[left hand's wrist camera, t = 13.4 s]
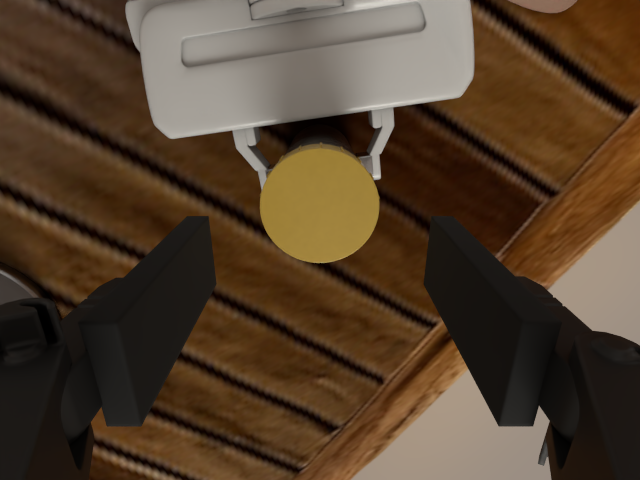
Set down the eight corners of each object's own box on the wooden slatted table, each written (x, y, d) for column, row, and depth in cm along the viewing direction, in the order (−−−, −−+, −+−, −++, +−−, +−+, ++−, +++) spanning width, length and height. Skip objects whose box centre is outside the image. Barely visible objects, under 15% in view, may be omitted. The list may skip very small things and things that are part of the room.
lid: (265, 251, 21) (261, 263, 20) (261, 140, 19) (256, 145, 18) (371, 253, 21) (375, 265, 20) (380, 143, 19) (385, 147, 18)
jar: (288, 186, 34) (267, 254, 20) (288, 123, 32) (263, 150, 18) (349, 188, 34) (369, 256, 20) (352, 124, 32) (377, 152, 18)
